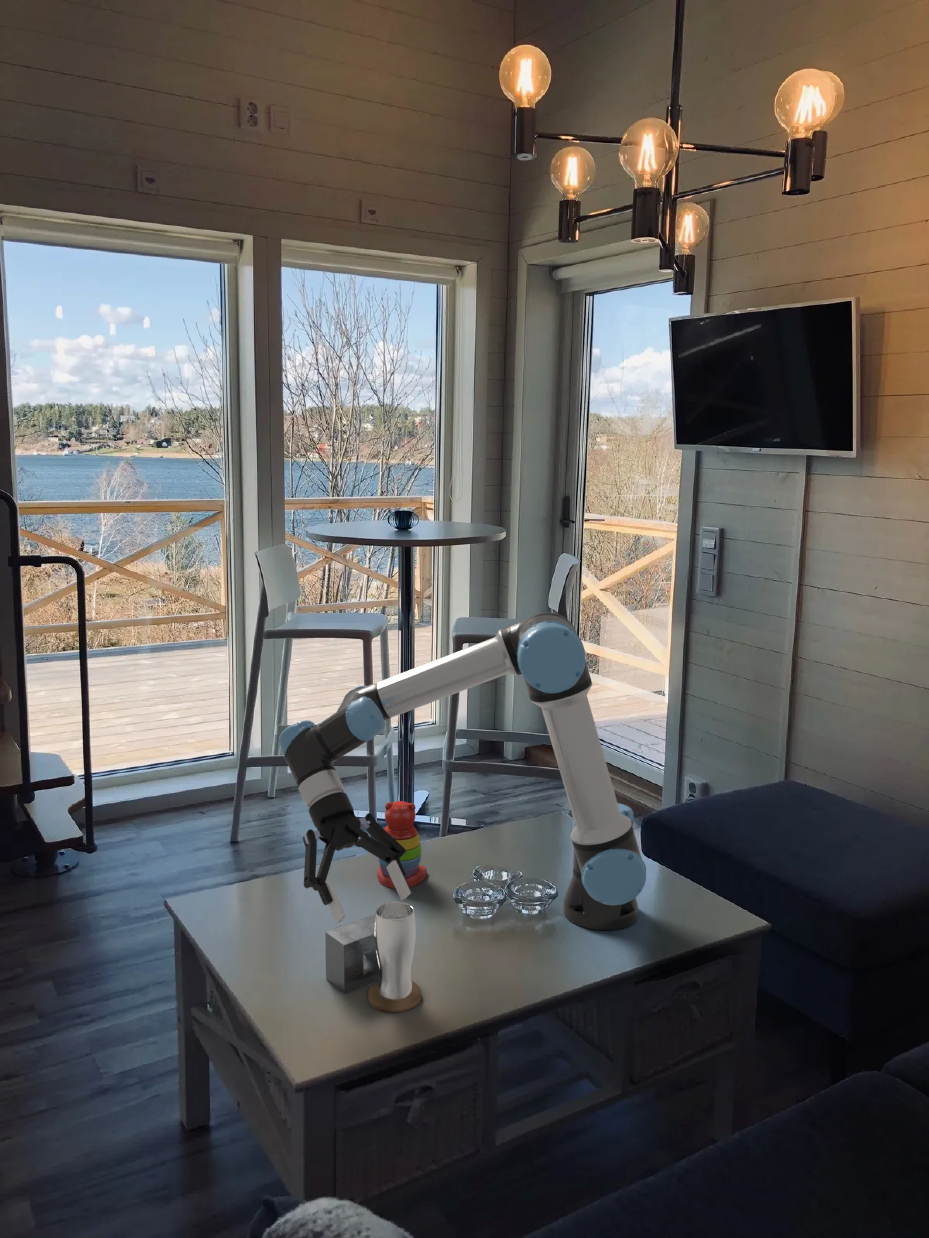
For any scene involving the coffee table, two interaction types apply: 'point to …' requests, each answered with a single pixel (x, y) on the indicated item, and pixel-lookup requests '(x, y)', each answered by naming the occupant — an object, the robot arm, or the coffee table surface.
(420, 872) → the stacking bear
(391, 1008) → the walnut coaster
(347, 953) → the grey block with hole
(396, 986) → the beer glass
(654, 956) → the coffee table surface
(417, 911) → the coffee table surface
